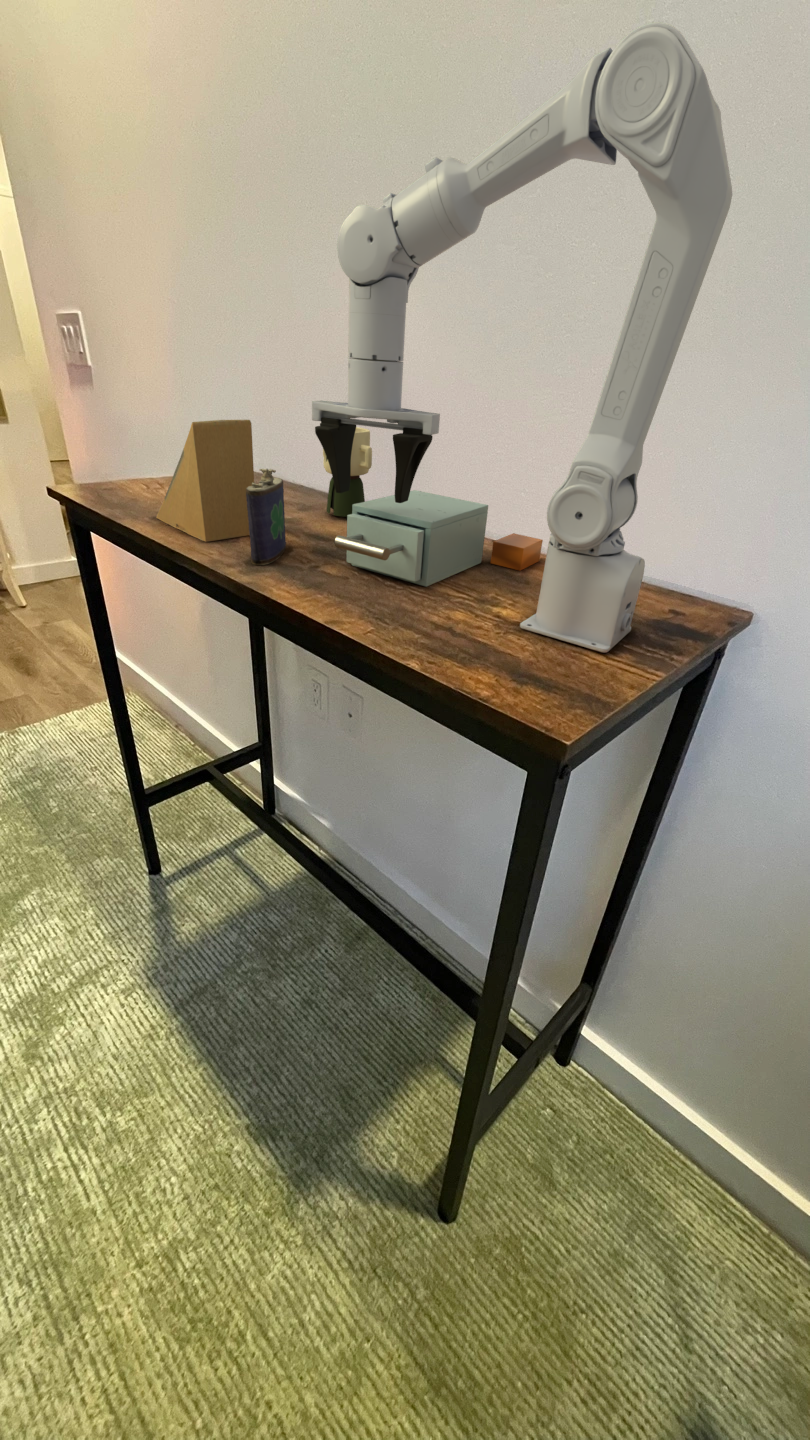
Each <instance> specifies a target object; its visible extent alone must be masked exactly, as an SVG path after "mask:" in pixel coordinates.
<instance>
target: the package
mask: <svg viewBox="0 0 810 1440" xmlns="http://www.w3.org/2000/svg"><path fill="white" fill-rule="evenodd" d="M543 542H544V541H543V539H541V538H537V537H532V536H528V535H524V534H519V533H514V532H513V533H510V534H507V535H505V536H503V537H501V538H498V539H496V540H493V541H492V547H491V548H492V549H491V555H490V562H489V563H490V564H492V565H496V566H499V567H504V568H507V569H512V570H515V571H519V572H521V571H522V570H525V569H527V568H528V567H530V566H533V565H535V564H536V563H539V562H540V558H541V553H542V547H543Z"/></svg>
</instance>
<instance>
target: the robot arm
mask: <svg viewBox="0 0 810 1440" xmlns="http://www.w3.org/2000/svg"><path fill="white" fill-rule="evenodd" d="M722 124H723V123H722V112H721V109H720V106H719V104H718V102H717V101H716V100H715V98H714V96H713V93H712V90H711V88H710V85H709V81H708V78H707V75H706V72H705V69H704V68H703V66H702V63H700V61H699V59H698V58H697V56H696V54H695V52H694V51H693V49H692V48H691V46H690V44H689V43H688V41H687V40H686V38H685V36H684V35H683V34H682V32H681V31H680V30H679V29H678V28H676V27H675V26H674V25H672V24H669V23H666V22H661V21H655V22H654V21H653V22H650V23H649V22H648V23H645V24H643V25H640V26H638V27H636V28H635V29H633V30H632V31H630V32H629V33H628V34H627V35H625V36H624V37H623V38H622V39H621V40H620V41H619V42H618V43H617V45H616V46H615V47H614V49H612V47H608V48H606V49H604V50H602V51H600V52H598V53H596V54H594V55H593V56H592V57H591V58H590V59H589V60H588V61H587V62H586V64H584V66H582V67H581V69H580V70H579V71H578V72H577V74H576V75H575V76H574V77H573V78H572V79H571V80H570V81H569V82H568V83H567V84H566V85H564V87H562V88H561V89H560V90H558V92H556V93H555V94H554V95H553V96H551V97H550V98H548V99H547V100H546V101H545V102H544V103H543V104H541V105H539V107H537V108H536V109H534V111H532V112H531V113H530V114H529V115H528V116H526V117H525V118H523V119H522V120H521V121H520V122H518V123H517V124H516V125H515V126H513V127H512V128H511V129H510V130H508V131H507V132H506V133H504V134H503V135H502V136H500V137H499V138H498V139H497V140H496V141H495V142H493V143H492V144H491V145H489V146H488V147H487V148H485V149H484V150H483V151H482V152H480V153H479V154H478V155H477V156H476V157H474V158H473V159H471V160H470V161H469V162H468V163H465V162H463V161H461V160H459V159H457V158H455V157H451V156H450V157H446V158H445V159H444V160H443V159H441V158H439V157H437V156H435V157H433V158H432V159H431V160H429V161H428V162H426V164H425V165H424V169H425V173H424V174H423V175H421V176H420V177H419V178H418V179H416V180H415V181H413V182H412V183H410V184H408V186H406V187H405V188H403V189H402V190H400V191H399V192H398V193H396V194H395V193H393V192H390V193H389V194H387V195H386V196H384V197H383V198H382V202H383V204H382V205H380V207H375V206H371V205H368V204H360V205H356V206H355V207H354V208H353V210H352V211H351V213H349V214H348V215H347V217H346V218H345V219H344V221H343V222H342V224H341V226H340V229H339V232H338V236H337V244H336V245H337V246H336V248H337V257H338V261H339V264H340V267H341V269H342V272H343V273H344V274H345V275H346V277H348V282H349V283H348V334H347V335H348V339H347V340H348V341H347V344H348V345H347V346H348V347H347V350H348V351H347V357H348V358H347V364H348V365H347V402H343V401H342V402H341V401H330V400H312V401H311V420H312V421H315V422H320V423H319V425H317V426H314V433H315V435H316V438H317V440H318V441H319V443H320V445H321V447H322V450H323V449H324V451H325V454H326V456H327V459H328V462H329V465H330V469H331V473H332V474H331V477H333V481H334V485H335V490H336V493H343V492H346V491H349V488H350V480H351V453H352V445H353V439H354V434H355V430H356V427H357V426H361V427H362V426H363V427H369V428H370V427H371V428H378V429H379V428H381V429H387V430H394V431H395V430H396V431H402V432H400V433H394V434H392V442H393V449H394V459H395V460H394V461H395V481H394V482H395V483H394V495H395V502H396V503H403V502H405V501H408V498H409V494H410V491H412V486H413V483H414V481H415V480H414V479H415V477H416V474H417V472H418V469H419V467H420V464H421V462H422V460H423V458H424V456H425V454H426V452H427V451H428V449H429V447H430V446H431V443H432V441H433V438H434V437H433V436H434V435H438V434H439V432H440V419H441V414H440V413H438V412H429V411H424V410H418V409H417V410H416V409H410V408H403V407H402V395H403V379H404V378H403V375H404V357H405V340H406V339H405V337H406V336H405V335H406V318H407V317H406V315H407V304H408V302H409V290H410V286H411V284H412V282H413V281H414V279H415V278H416V276H417V274H418V271H419V269H420V267H422V266H424V265H425V264H427V263H428V262H430V261H432V260H434V259H435V258H436V257H438V256H440V255H441V254H443V253H444V252H446V251H448V250H450V249H451V248H453V247H454V246H456V245H457V244H459V243H460V242H463V241H464V240H465V239H467V238H469V237H470V236H473V234H475V233H476V232H477V230H478V228H479V226H480V223H481V221H482V218H483V214H484V211H485V210H486V208H487V207H489V206H490V205H492V204H494V203H497V202H498V201H500V200H501V199H503V198H505V197H507V196H508V195H510V194H512V193H514V192H516V191H517V190H519V189H521V188H522V187H525V186H526V185H527V184H528V185H529V183H531V182H533V181H535V180H536V179H538V178H540V177H542V176H544V175H546V174H547V173H549V172H551V171H552V170H555V169H556V168H558V167H559V166H561V165H563V164H565V163H567V162H568V161H570V160H575V159H577V160H582V161H586V162H593V163H599V164H604V165H609V166H615V165H616V163H617V154H618V153H619V154H620V155H622V156H623V157H624V158H625V159H626V160H627V161H628V162H629V163H630V165H631V166H632V167H633V169H634V170H635V171H636V172H637V174H638V178H639V181H640V182H641V185H642V187H643V188H644V190H645V193H646V195H647V197H648V199H649V201H650V204H651V206H652V207H653V209H654V211H655V220H654V224H653V228H652V231H651V234H650V237H649V241H648V243H647V247H646V249H645V253H644V256H643V259H642V263H641V265H640V268H639V272H638V275H637V278H636V282H635V285H634V288H633V291H632V294H631V297H630V301H629V303H628V307H627V309H626V312H625V316H624V320H623V323H622V325H621V328H620V332H619V335H618V338H617V341H616V345H615V348H614V351H613V354H612V358H611V361H610V364H609V367H608V370H607V373H606V377H605V380H604V383H603V386H602V389H601V393H600V396H599V399H598V401H597V404H596V408H595V412H594V414H593V418H592V420H591V424H590V427H589V430H588V433H587V436H586V438H585V439H584V441H583V442H582V444H581V446H580V447H579V450H578V451H577V453H576V454H575V456H574V457H573V460H572V462H571V465H570V468H569V472H568V474H567V476H566V478H565V479H564V481H563V482H562V484H561V485H560V486H559V487H558V488H557V489H556V490H555V491H554V493H553V494H552V496H551V498H550V499H549V502H548V505H547V508H546V509H547V511H546V522H547V526H548V529H549V532H550V534H549V541H548V545H547V549H546V550H547V551H546V556H545V562H544V568H543V572H542V578H541V584H540V591H539V595H538V601H537V606H536V613H534V614H533V615H531V616H529V617H528V618H526V619H525V620H523V621H521V622H520V623H519V628H520V629H522V630H525V631H529V632H532V633H536V634H539V635H543V636H546V637H549V638H552V639H556V640H559V641H563V642H565V643H570V644H573V645H576V646H579V647H584V648H586V649H589V650H592V651H596V652H599V653H604V654H605V653H608V652H609V651H611V650H612V649H613V648H614V647H615V646H616V645H617V644H618V643H619V642H620V641H621V640H622V639H623V638H625V637H626V636H627V635H628V634H629V633H631V631H632V622H633V617H634V614H635V610H636V606H637V602H638V598H639V595H640V591H641V586H642V583H643V578H644V574H645V566H646V562H645V559H644V558H643V557H641V556H638V555H634V554H631V553H629V552H628V551H626V550H625V546H626V541H624V536H623V532H622V530H621V528H622V527H624V526H625V525H627V523H628V522H629V521H630V520H631V519H632V518H633V516H634V514H635V511H636V509H637V506H638V499H639V498H638V497H639V496H638V487H637V482H638V477H639V473H640V470H641V468H642V464H643V453H644V444H645V440H646V439H647V436H648V433H649V430H650V428H651V425H652V422H653V420H654V416H655V414H656V411H657V409H658V405H659V402H660V400H661V398H662V395H663V392H664V390H665V386H666V384H667V381H668V378H669V375H670V373H671V370H672V367H673V364H674V362H675V360H676V357H677V354H678V351H679V348H680V345H681V342H682V340H683V337H684V334H685V332H686V329H687V326H688V324H689V321H690V318H691V316H692V313H693V309H694V307H695V304H696V301H697V299H698V296H699V294H700V290H701V288H702V286H703V282H704V279H705V277H706V274H707V272H708V269H709V266H710V263H711V260H712V258H713V255H714V253H715V249H716V247H717V244H718V241H719V239H720V237H721V233H722V231H723V227H724V225H725V221H726V219H727V216H728V213H729V211H730V209H731V204H732V199H733V185H732V179H731V174H730V168H729V161H728V155H727V149H726V144H725V136H724V131H723V125H722ZM617 152H618V153H617ZM359 418H363V419H359ZM366 419H374V420H375V421H374V420H366ZM376 420H386V422H383V421H376Z"/></svg>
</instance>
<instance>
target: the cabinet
mask: <svg viewBox="0 0 810 1440" xmlns="http://www.w3.org/2000/svg"><path fill="white" fill-rule="evenodd" d="M352 514H357V515H361V516H365V514H368V515H372V516H376V517H380V518H385V519H389V520H393V521H397V522H402V523H406V524H410V525H414V526H419V527H423V528H426V529H425V541H424V554H423V567H422V573H421V577H420V580H418V581H415V582H414V581H411V580H407V579H404V578H400V577H397V576H393V575H390V574H386V573H383V572H379V571H376V570H372V569H369V568H365V567H362V566H358V565H355V564H351V563H350V564H351V566H353V567H356V568H359V569H363V570H366V571H370V572H374V573H377V574H381V575H384V576H387V577H391V578H394V579H397V580H402V581H405V582H409V583H412V584H415V585H418V586H422V587H425V588H427V587H429V586H432V585H434V584H436V583H438V582H441V581H443V580H445V579H448V578H450V577H452V576H455V575H456V574H459V573H461V572H464V571H466V570H468V569H470V568H473V567H475V566H478V565H480V564H481V563H482V560H483V553H484V546H485V537H486V529H487V521H488V514H489V504H486V503H480V502H475V501H471V500H465V499H461V498H455V497H450V496H445V495H440V494H436V493H431V492H426V491H421V490H416V489H413V490H410V494H409V498H408V501H405V502H403V503H396V502H395V494H391V495H388V496H383V497H379V498H375V499H370V500H365V502H361V503H357V504H353V505H352Z"/></svg>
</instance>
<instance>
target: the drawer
mask: <svg viewBox="0 0 810 1440" xmlns="http://www.w3.org/2000/svg"><path fill="white" fill-rule="evenodd" d="M425 529H426V528H423V527H419V526H414V525H410V524H406V523H402V522H397V521H393V520H389V519H385V518H380V517H376V516H372V515H368V514H365V516H361V515H357V514H350V515H347V517H346V536H344V535H336V537H335V538H334V546H335V547H336V548H338V549H341V550H345V551H346V563H349V564H355V565H358V566H362V567H365V568H369V569H372V570H376V571H379V572H383V573H386V574H390V575H393V576H397V577H400V578H404V579H407V580H411V581H414V582H415V581H418V580H420V577H421V573H422V567H423V554H424V541H425Z"/></svg>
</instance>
